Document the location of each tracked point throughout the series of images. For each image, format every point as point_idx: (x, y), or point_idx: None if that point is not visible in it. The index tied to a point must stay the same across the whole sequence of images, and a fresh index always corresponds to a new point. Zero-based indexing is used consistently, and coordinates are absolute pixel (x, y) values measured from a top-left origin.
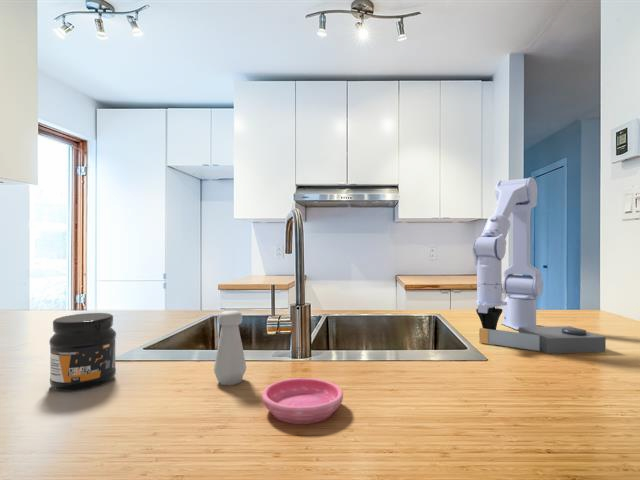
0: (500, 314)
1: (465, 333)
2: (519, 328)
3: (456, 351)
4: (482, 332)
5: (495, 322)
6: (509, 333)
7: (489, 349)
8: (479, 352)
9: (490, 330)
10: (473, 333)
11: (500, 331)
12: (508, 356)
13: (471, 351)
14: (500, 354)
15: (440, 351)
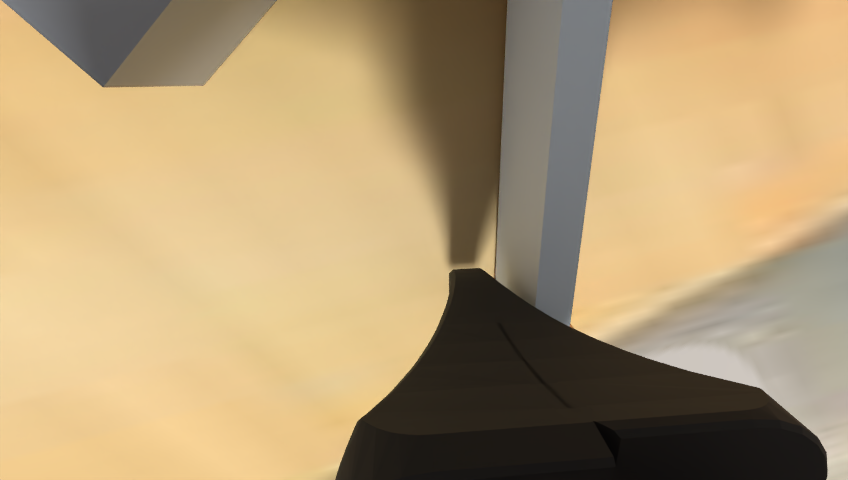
0: (428, 396)
1: (283, 469)
2: (124, 72)
3: (802, 366)
4: None
5: (588, 339)
6: (589, 114)
7: (669, 223)
8: (782, 255)
9: (569, 320)
10: (238, 436)
11: (579, 223)
12: (837, 44)
13: (772, 302)
14: (792, 116)
15: (829, 424)
